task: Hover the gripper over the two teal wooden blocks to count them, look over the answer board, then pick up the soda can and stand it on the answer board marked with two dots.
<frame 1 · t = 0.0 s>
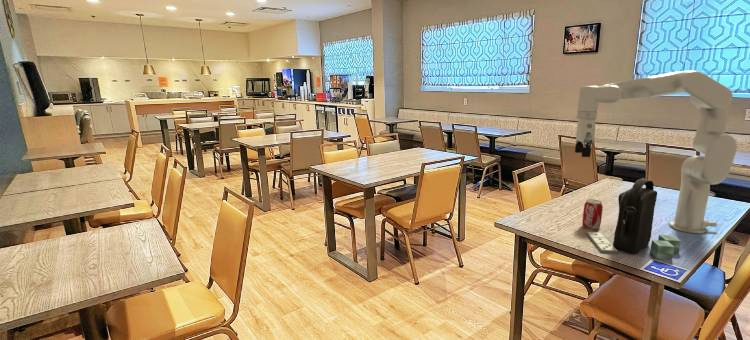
hand: (582, 154, 166), 31 cm above the table, tool pointing down, fingers open, 9 cm apart
teal block b: (660, 255, 140), on the table
soda can: (590, 227, 167), on the table
answer board: (600, 243, 151), on the table
shoulder bag: (630, 248, 147), on the table, touching answer board
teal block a: (667, 250, 145), on the table
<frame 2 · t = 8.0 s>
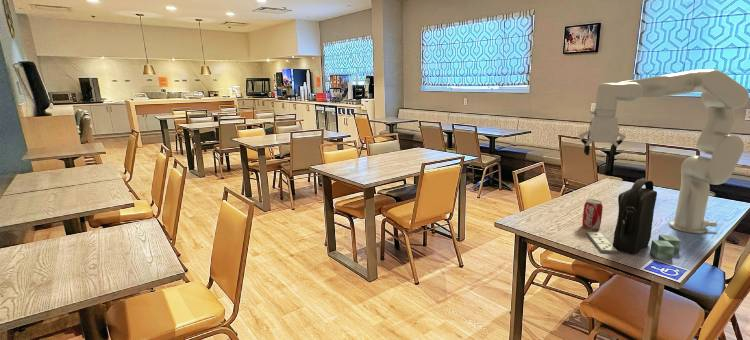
hand: (599, 155, 159), 32 cm above the table, tool pointing down, fingers open, 9 cm apart
nothing on the table moved.
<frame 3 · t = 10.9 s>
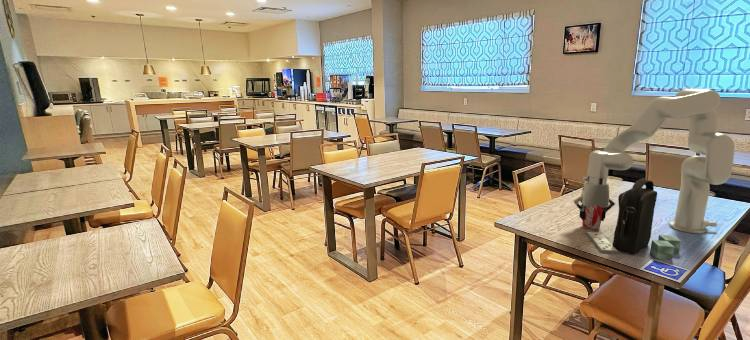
hand: (591, 219, 166), 4 cm above the table, tool pointing down, fingers closed on soda can, 7 cm apart
soda can: (590, 227, 167), on the table, touching gripper
everything else where it was.
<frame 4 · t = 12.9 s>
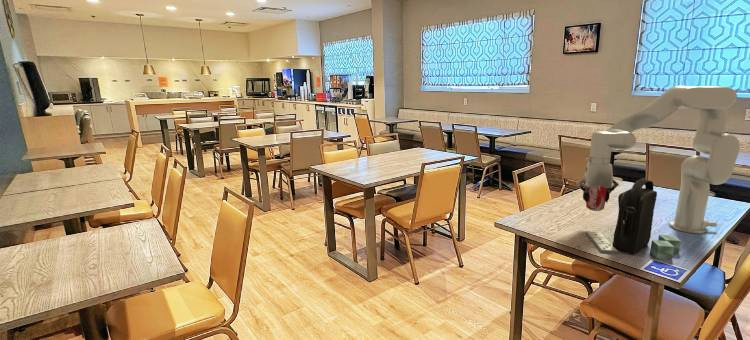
hand: (595, 200, 164), 12 cm above the table, tool pointing down, fingers closed on soda can, 7 cm apart
soda can: (594, 209, 165), point 8 cm above the table, touching gripper
everything else where it was.
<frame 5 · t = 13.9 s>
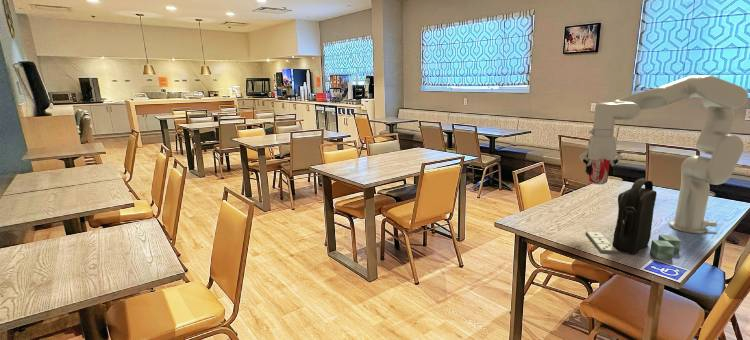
hand: (598, 174, 161), 24 cm above the table, tool pointing down, fingers closed on soda can, 7 cm apart
soda can: (597, 183, 162), point 20 cm above the table, touching gripper
everything else where it was.
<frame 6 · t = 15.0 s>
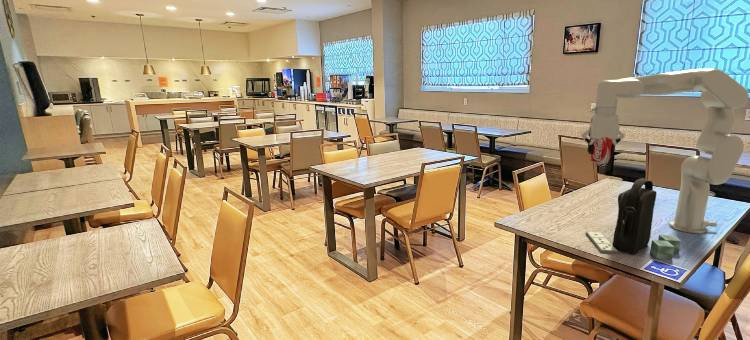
hand: (600, 153, 159), 33 cm above the table, tool pointing down, fingers closed on soda can, 7 cm apart
soda can: (599, 163, 160), point 29 cm above the table, touching gripper
everything else where it was.
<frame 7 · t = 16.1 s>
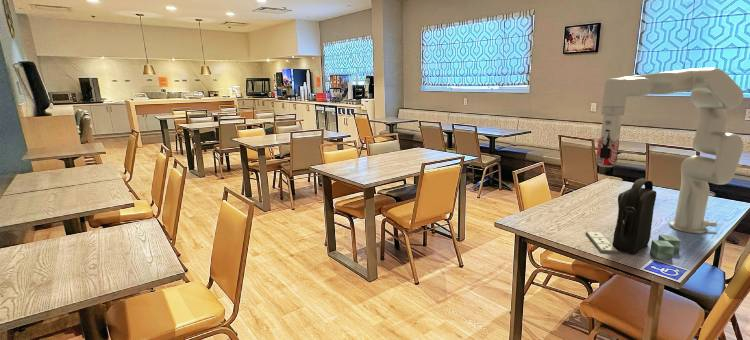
hand: (606, 156, 150), 34 cm above the table, tool pointing down, fingers closed on soda can, 7 cm apart
soda can: (605, 166, 151), point 30 cm above the table, touching gripper
everything else where it was.
when the fingers open (7 cm above the table, at t = 22.5 s): soda can drops 2 cm, resting on answer board.
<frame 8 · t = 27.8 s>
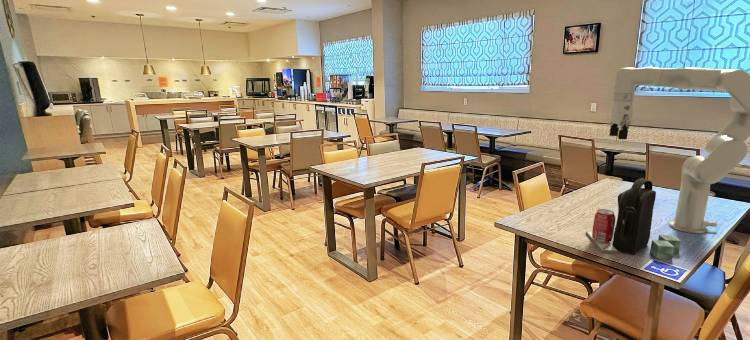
hand: (617, 137, 166), 38 cm above the table, tool pointing down, fingers open, 9 cm apart
soda can: (601, 240, 151), point 1 cm above the table, touching answer board
everything else where it was.
at the end: soda can 0.2 cm off-centre on the answer board, point 1.0 cm above the answer board's base; soda can tilted 0°; shoulder bag moved 0.8 cm from its start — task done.
